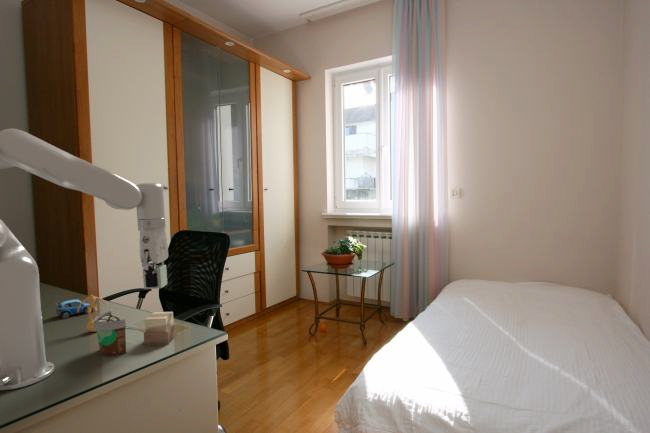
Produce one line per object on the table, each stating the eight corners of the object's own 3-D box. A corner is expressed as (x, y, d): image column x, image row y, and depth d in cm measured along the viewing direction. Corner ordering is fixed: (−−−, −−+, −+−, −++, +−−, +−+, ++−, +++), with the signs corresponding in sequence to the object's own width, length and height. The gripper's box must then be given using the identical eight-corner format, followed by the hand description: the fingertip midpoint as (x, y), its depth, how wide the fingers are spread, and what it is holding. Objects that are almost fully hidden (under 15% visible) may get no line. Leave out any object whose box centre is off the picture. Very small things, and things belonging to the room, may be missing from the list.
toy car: (95, 312, 144) (94, 297, 144) (57, 320, 136) (56, 305, 136) (92, 309, 149) (91, 295, 148) (55, 316, 141) (54, 302, 140)
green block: (161, 288, 112) (160, 268, 111) (144, 289, 111) (142, 269, 111) (167, 283, 117) (166, 264, 116) (150, 284, 116) (149, 265, 116)
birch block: (166, 331, 112) (165, 318, 111) (145, 332, 111) (145, 319, 111) (173, 324, 118) (172, 311, 117) (154, 325, 117) (153, 312, 117)
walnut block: (168, 345, 111) (167, 332, 111) (144, 346, 111) (143, 333, 111) (176, 335, 118) (176, 323, 118) (154, 336, 118) (153, 324, 118)
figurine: (79, 336, 120) (76, 299, 119) (79, 330, 125) (75, 295, 124) (109, 330, 125) (106, 294, 124) (107, 325, 129) (105, 290, 129)
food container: (89, 350, 109) (86, 316, 108) (112, 343, 114) (110, 310, 113) (103, 362, 101) (100, 326, 100) (128, 354, 105) (125, 319, 105)
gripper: (153, 227, 104) (157, 291, 106) (174, 221, 121) (177, 277, 123) (125, 228, 104) (130, 292, 105) (150, 222, 121) (154, 278, 122)
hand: (155, 283), depth 114 cm, fingers closed on green block, 5 cm apart
